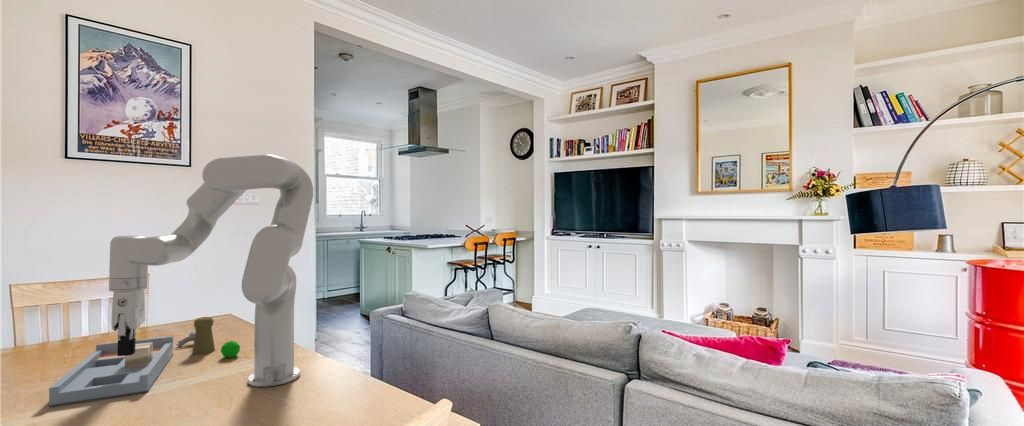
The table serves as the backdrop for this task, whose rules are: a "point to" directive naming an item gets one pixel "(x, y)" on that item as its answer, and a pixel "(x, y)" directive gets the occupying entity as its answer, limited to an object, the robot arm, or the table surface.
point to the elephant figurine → (186, 339)
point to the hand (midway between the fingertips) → (126, 354)
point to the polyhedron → (230, 349)
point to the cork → (203, 336)
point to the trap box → (110, 374)
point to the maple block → (140, 356)
